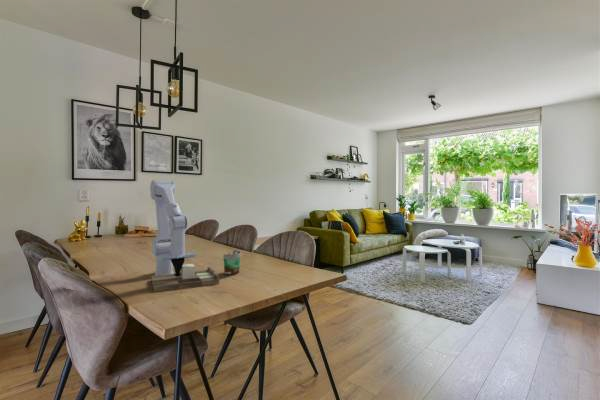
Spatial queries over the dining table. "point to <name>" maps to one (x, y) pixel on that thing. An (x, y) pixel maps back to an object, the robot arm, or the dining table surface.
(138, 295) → the dining table surface
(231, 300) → the dining table surface
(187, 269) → the block
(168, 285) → the trap deck
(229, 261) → the food container
